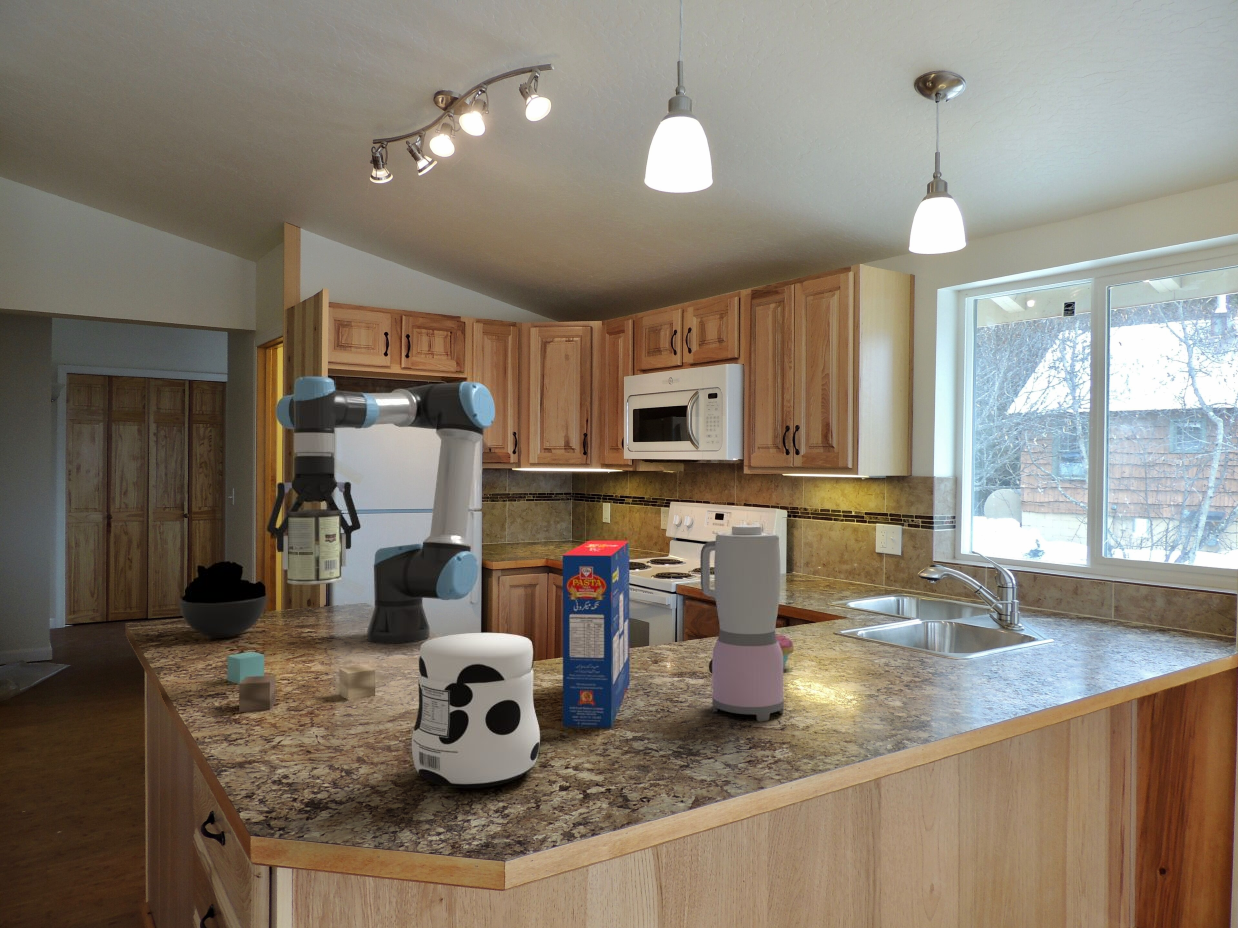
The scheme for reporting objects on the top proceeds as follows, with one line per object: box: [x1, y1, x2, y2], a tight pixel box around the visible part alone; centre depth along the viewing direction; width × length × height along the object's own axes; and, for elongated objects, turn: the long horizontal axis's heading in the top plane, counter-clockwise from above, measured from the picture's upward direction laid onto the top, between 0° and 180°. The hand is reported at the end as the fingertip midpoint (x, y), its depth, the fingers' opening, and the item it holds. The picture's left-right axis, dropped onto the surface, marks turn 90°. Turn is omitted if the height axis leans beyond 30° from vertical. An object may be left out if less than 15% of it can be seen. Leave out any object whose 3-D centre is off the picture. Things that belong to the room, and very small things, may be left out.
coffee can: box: [285, 508, 343, 586], centre depth 164 cm, size 10×10×14 cm
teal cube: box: [226, 651, 265, 685], centre depth 165 cm, size 5×5×5 cm
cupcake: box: [775, 633, 795, 670], centre depth 174 cm, size 9×8×12 cm
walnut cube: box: [238, 674, 277, 713], centre depth 146 cm, size 5×5×5 cm
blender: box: [699, 524, 785, 722], centre depth 144 cm, size 16×12×32 cm
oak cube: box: [338, 664, 376, 701], centre depth 154 cm, size 5×5×5 cm
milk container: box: [411, 632, 541, 789], centre depth 113 cm, size 17×17×18 cm
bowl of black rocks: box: [178, 560, 268, 639], centre depth 208 cm, size 20×20×19 cm
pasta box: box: [562, 540, 631, 729], centre depth 148 cm, size 28×8×28 cm, turn 173°
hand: (314, 567), depth 164 cm, fingers closed on coffee can, 10 cm apart
